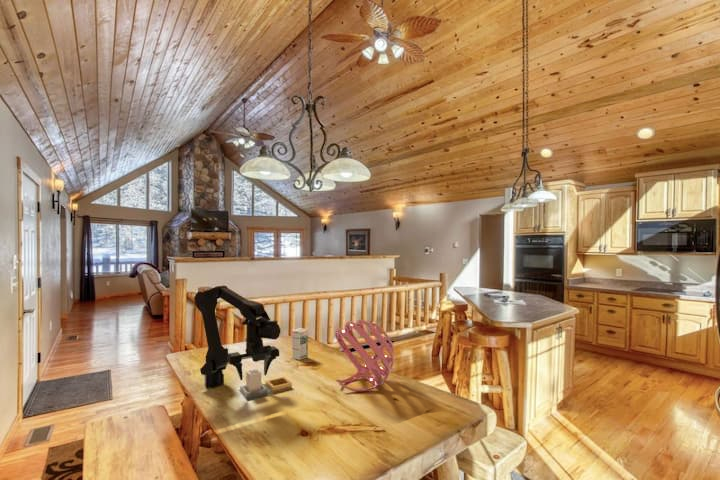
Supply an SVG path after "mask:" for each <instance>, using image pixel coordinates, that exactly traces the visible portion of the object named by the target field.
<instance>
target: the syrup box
mask: <svg viewBox="0 0 720 480" xmlns="http://www.w3.org/2000/svg"><path fill="white" fill-rule="evenodd" d="M308 339H309V338H308V329H307V328H303V327H302V328H301V327H300V328H297V329H296V328H295V329H293V330H291V345H292V346H291V350H292V351H291V352H292V355H291V357H292V359H293V360H298V361H301V360H303V359H306V358H308V357H309V354H308V352H309V351H308V350H309V349H308V347H309V346H308V342H309V341H308Z"/></svg>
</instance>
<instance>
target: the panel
mask: <svg viewBox="0 0 720 480" xmlns="http://www.w3.org/2000/svg"><path fill="white" fill-rule="evenodd" d="M238 391H239V392H240V394H241V395H242V396H243V397H244V399H245V400H246V401H247V402H250V401H255V400H258V399H263V398H266V397H270V396H274V395H275V396H276V395H279V394H282V393H283V394H284V393H287V392H290V391H291V392H292V391H294V388H293V382H292V381H290V380H289V379H287V377H285V376H281V377H277V378H272V379H267V380H265V383H262V382H261V389H259V390H255V391H251V392H248V391H247V390H246V384H245V385H242V386H239V389H238Z"/></svg>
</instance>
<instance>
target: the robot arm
mask: <svg viewBox="0 0 720 480" xmlns="http://www.w3.org/2000/svg"><path fill="white" fill-rule="evenodd" d="M193 299H194V303H195V306H196V309H198V311H199V312H200V313H201V315H202V321H203V326H204V331H205V332H204V333H205V338H206V344H207V351H206V354H205V363H204V365H203V366H201V368H200V373H201V375H203V376H204V387H205V388H206V389H207V388H217V387H220V386H222V385H224V383H225V374H224V373H223V371H224V370H226V369H227V366H228V364H229V365H232V366H233V367H235V368H236V371H237V373H238V374H237V375H238V377H239V379H240V381H243V363H242V361H243V360H246V359H247V360H248V359H252V362H255V363H257V362H259V361H263V375H264V376H267V374H268V371H269V368H270V366H271V363H272V362H273V360H276V359H277V357H280V350H279V348H277V347H275V346H274V345H270V344H269V345H264V343H263V339H268V340H277V339H279V337H280V336H281V326H280V324H278V321H277V320H271V318H270V316H269V314H268V312H267V311H266V309H265V306H264V304H262V303H261V302H258V301H255V300H250V299H247V298H245V297H244V296H243V295H240V294H238V293H237V292H235V291H234V290H232V289H230V288H228V286H227V285H218V286H214V287H212V288H210V289H207V290H201V291H198V292H196V294H195V295H194V297H193ZM219 299H222V300H224V302H226V303H228V304H229V305H231V306H232V307H235V309H237V310H238V311H239V312H240V315H241V316H242V317H244V320H243V321H242V322H241V325H243V326H246V331H245V332H246V333H245V335H246V337H245V350H244V351H245V353H242V354H241V353H240V352H239V351H237V352H236V351H235V352H230V353H229V348H228V347H226V348H225V347H224V346H223V345H222V342H221V336H220V331H219V325H218V320H217V313H216V308H217V306H218V300H219Z"/></svg>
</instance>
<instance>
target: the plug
mask: <svg viewBox="0 0 720 480" xmlns="http://www.w3.org/2000/svg"><path fill="white" fill-rule="evenodd" d="M245 374H246V378H245V382H246V383H245V385H246V390H247V391H248V392H251V391H255V390H259V389H261V383H262V371H261V370H259V369H258V368H256V369H255V368H254V369H251V370H246V373H245Z"/></svg>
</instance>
